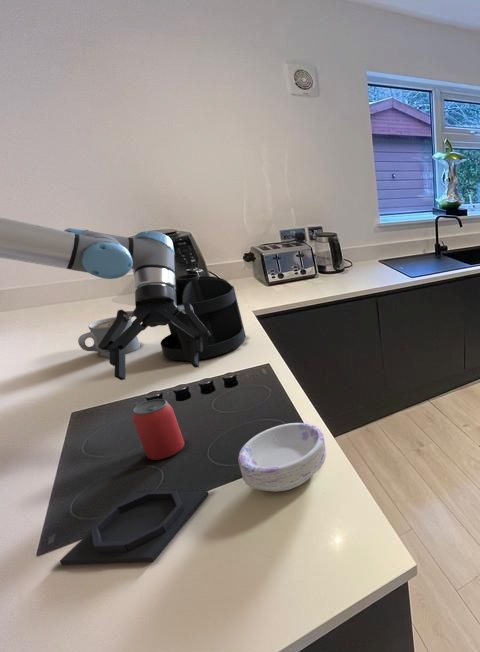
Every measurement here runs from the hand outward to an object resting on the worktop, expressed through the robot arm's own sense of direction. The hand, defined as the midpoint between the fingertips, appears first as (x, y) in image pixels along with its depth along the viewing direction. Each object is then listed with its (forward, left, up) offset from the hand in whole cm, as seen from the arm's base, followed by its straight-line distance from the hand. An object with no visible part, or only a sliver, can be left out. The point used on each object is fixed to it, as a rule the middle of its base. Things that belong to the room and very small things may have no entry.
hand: (158, 371), depth 91 cm
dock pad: (+14, -29, -15) cm, 36 cm away
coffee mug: (-48, +41, -15) cm, 65 cm away
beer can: (+4, -9, -15) cm, 18 cm away
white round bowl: (+34, -17, -15) cm, 41 cm away
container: (-20, +44, -15) cm, 50 cm away
